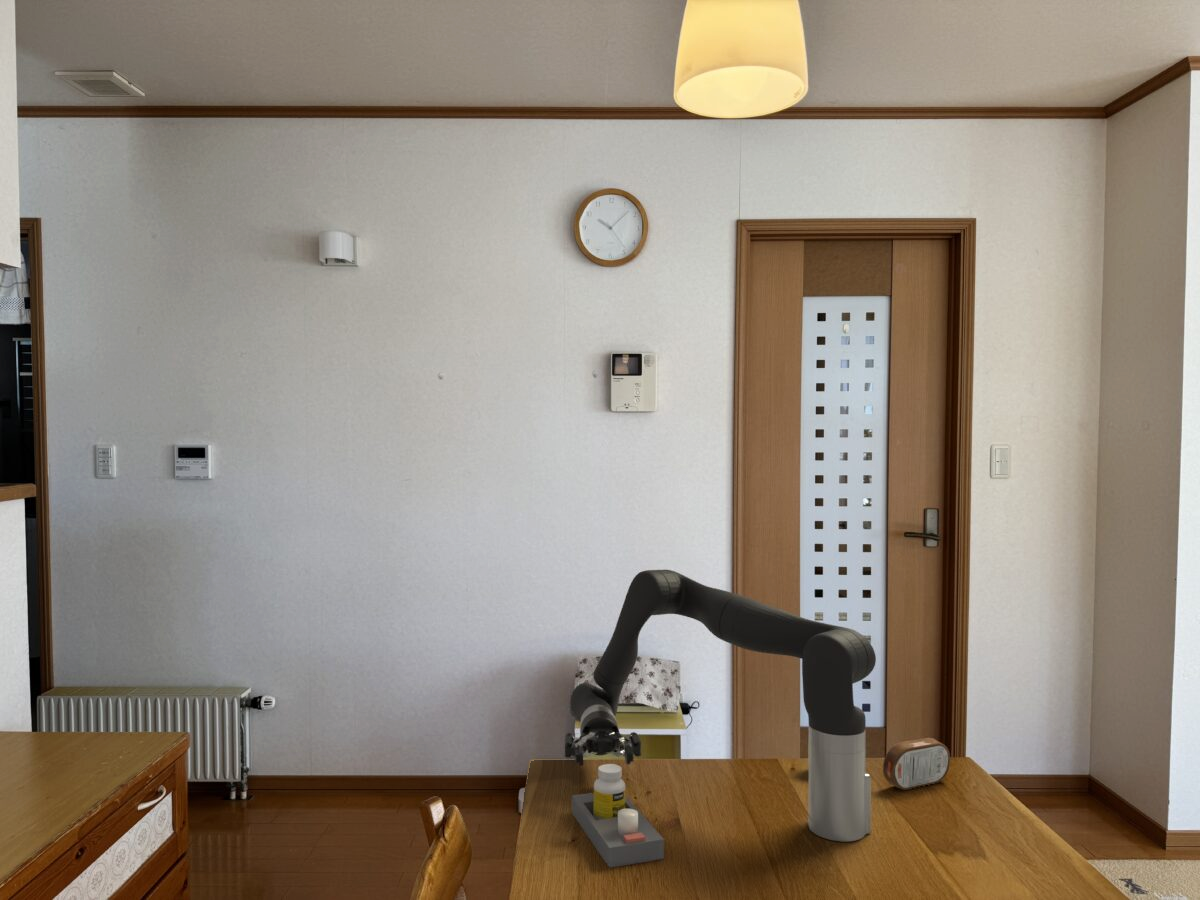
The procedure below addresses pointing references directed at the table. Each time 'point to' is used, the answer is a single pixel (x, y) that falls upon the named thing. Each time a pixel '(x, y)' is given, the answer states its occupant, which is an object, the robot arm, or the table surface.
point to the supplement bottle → (608, 792)
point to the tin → (916, 763)
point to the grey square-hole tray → (619, 833)
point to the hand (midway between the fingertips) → (605, 759)
